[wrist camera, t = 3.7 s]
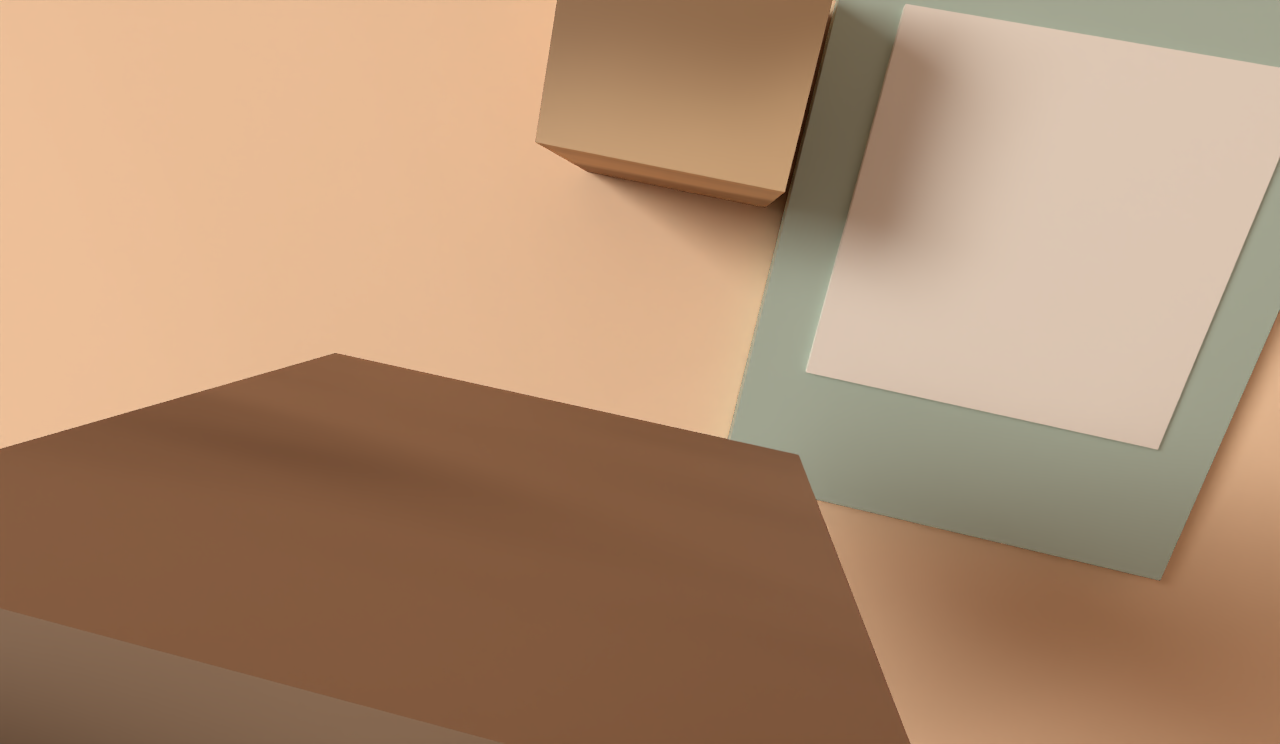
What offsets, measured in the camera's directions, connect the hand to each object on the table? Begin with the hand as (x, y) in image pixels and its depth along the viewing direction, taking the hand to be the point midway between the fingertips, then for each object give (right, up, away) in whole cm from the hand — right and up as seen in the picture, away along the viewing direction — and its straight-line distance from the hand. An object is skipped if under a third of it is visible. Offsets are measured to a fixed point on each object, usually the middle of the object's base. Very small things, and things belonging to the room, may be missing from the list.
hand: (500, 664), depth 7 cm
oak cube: (+3, +11, +9) cm, 14 cm away
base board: (+11, +7, +9) cm, 16 cm away
